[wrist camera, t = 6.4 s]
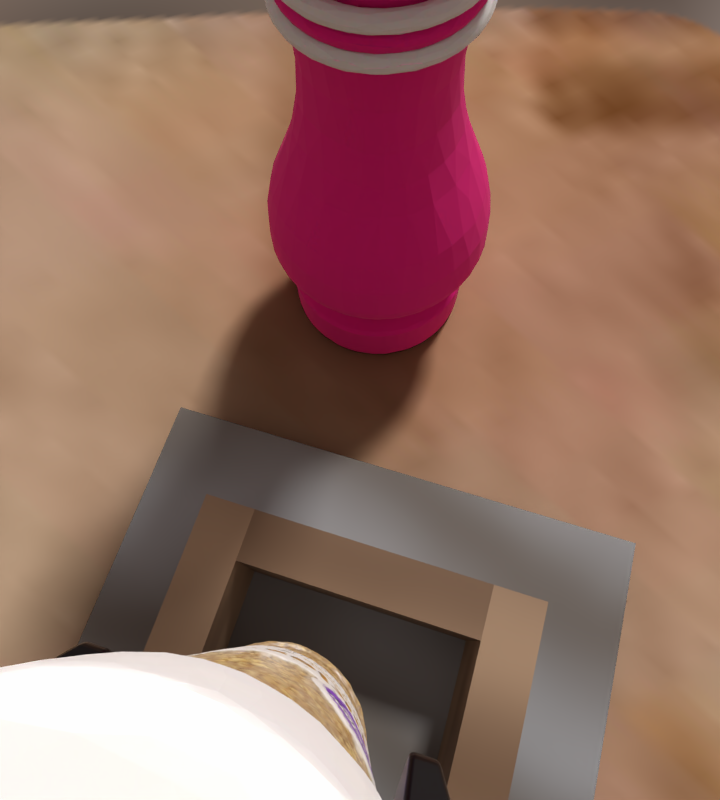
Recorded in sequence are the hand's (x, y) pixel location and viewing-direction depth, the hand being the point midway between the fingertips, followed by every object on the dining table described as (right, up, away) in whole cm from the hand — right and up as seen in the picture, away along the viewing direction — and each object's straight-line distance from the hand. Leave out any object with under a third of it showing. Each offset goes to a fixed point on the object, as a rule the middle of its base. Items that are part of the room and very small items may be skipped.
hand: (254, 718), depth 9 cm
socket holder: (0, -6, +11) cm, 12 cm away
